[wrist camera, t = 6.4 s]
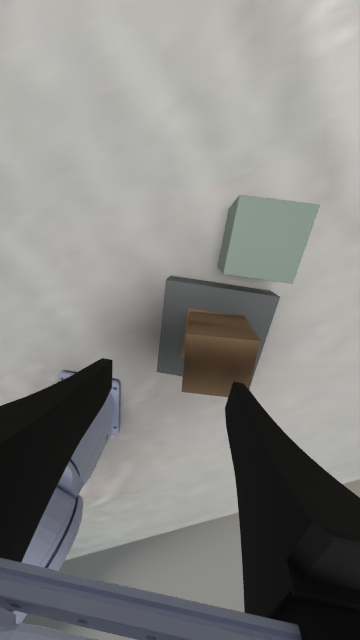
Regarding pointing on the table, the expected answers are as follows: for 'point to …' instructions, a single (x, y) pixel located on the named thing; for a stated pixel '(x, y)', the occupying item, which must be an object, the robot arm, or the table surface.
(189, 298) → the charcoal block
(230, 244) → the sage cube
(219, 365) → the walnut cube
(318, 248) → the table surface
